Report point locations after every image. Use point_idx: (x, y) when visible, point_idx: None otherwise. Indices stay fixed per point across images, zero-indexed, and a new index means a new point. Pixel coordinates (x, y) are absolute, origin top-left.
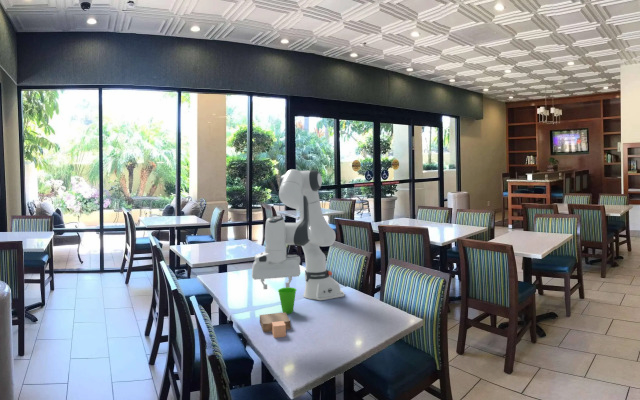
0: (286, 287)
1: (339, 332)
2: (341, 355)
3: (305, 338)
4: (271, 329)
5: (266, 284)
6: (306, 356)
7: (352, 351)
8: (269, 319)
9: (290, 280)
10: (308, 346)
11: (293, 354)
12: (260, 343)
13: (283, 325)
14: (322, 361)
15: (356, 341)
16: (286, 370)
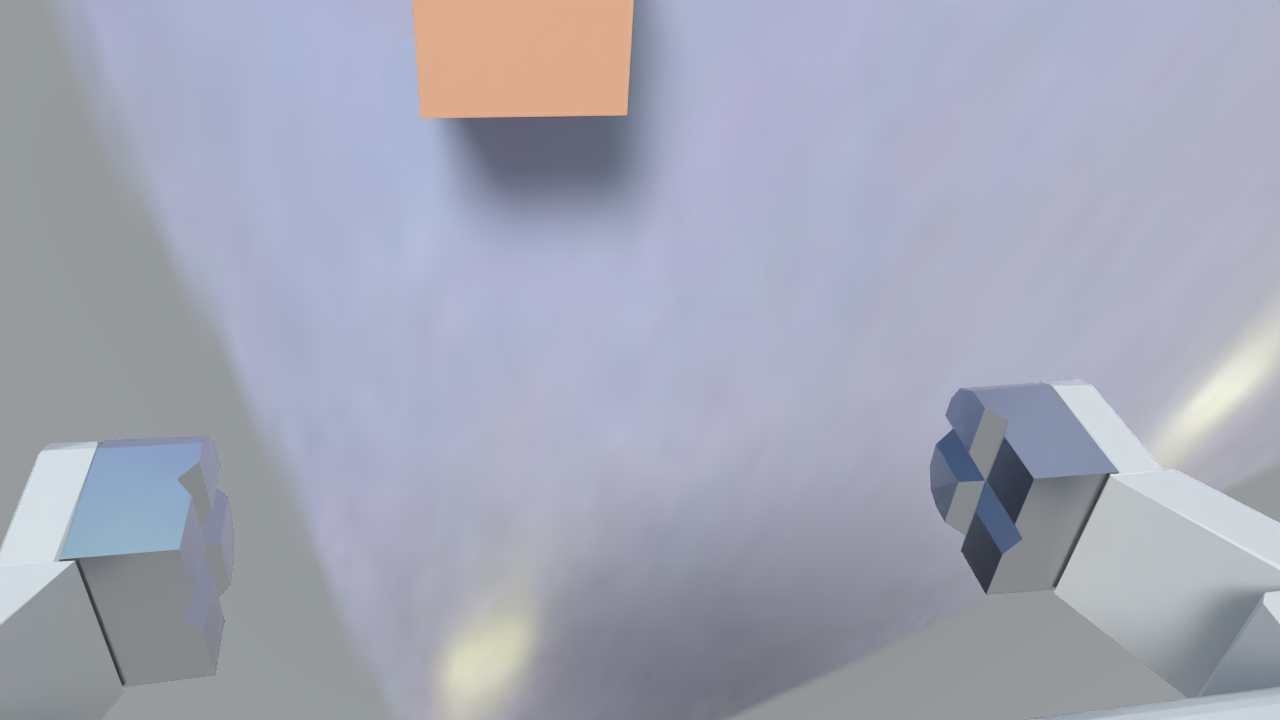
0: (940, 472)
1: (1258, 123)
2: (941, 562)
3: (819, 181)
4: None
5: (173, 592)
6: (673, 538)
7: None
8: None
9: (1199, 678)
10: (765, 376)
11: (571, 492)
12: (211, 175)
13: (590, 114)
14: (762, 616)
15: (1222, 372)
16: (458, 687)
